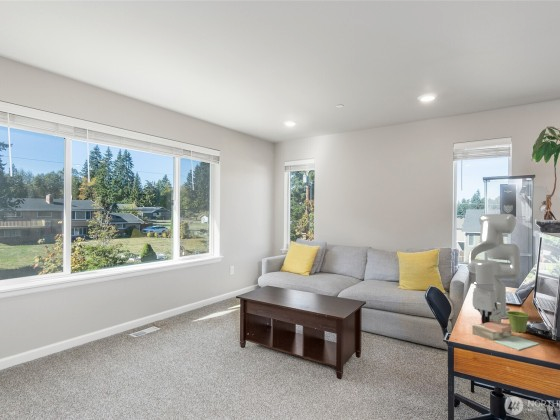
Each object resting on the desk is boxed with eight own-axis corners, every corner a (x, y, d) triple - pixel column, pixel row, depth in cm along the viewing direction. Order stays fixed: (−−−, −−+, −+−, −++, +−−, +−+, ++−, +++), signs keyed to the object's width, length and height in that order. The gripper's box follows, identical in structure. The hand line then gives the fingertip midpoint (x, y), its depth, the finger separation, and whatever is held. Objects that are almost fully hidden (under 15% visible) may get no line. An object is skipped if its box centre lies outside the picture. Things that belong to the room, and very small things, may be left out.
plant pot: (502, 329, 159) (502, 312, 160) (513, 326, 163) (513, 310, 164) (522, 335, 151) (522, 317, 151) (534, 332, 155) (533, 315, 155)
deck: (490, 329, 159) (490, 321, 159) (511, 336, 150) (511, 327, 150) (472, 333, 153) (472, 325, 153) (493, 341, 144) (493, 332, 144)
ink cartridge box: (488, 326, 164) (488, 298, 164) (480, 323, 169) (480, 296, 169) (502, 325, 166) (501, 297, 166) (493, 322, 171) (493, 295, 171)
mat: (513, 336, 150) (513, 335, 150) (539, 344, 140) (539, 343, 140) (493, 341, 143) (493, 340, 143) (518, 350, 134) (518, 349, 134)
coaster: (494, 324, 154) (494, 320, 154) (511, 329, 147) (511, 325, 147) (484, 327, 151) (484, 323, 151) (501, 332, 144) (501, 328, 144)
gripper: (465, 284, 160) (466, 320, 160) (495, 290, 146) (496, 329, 146) (475, 283, 163) (476, 318, 163) (505, 289, 149) (506, 327, 149)
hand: (485, 323), depth 154 cm, fingers closed
